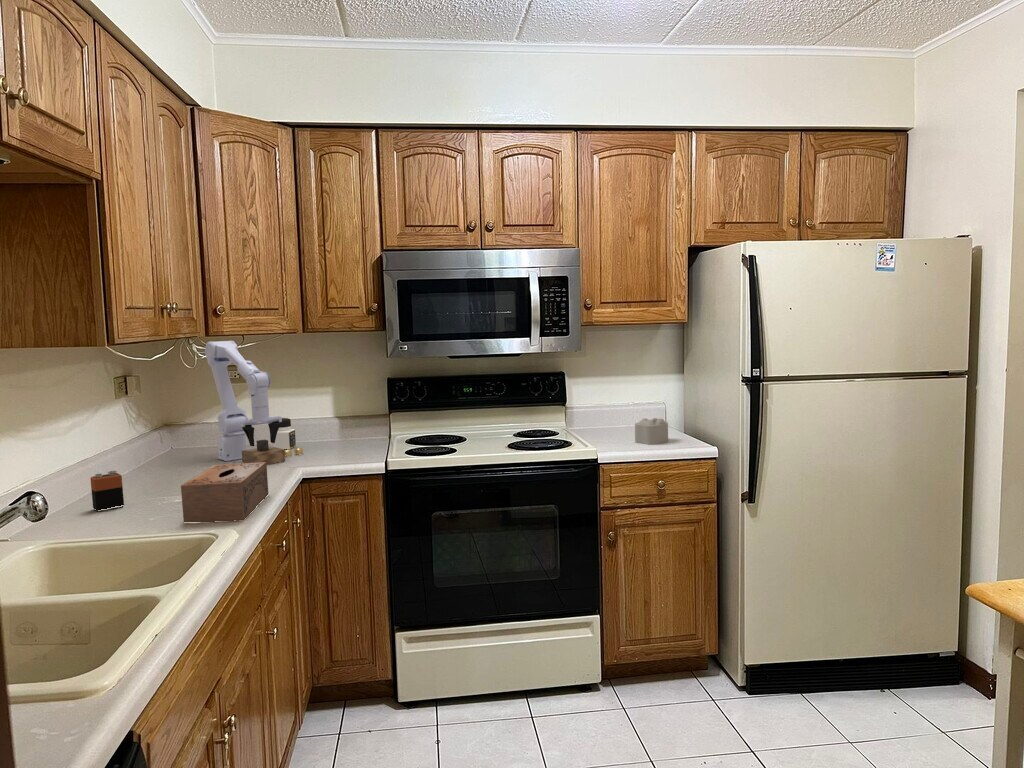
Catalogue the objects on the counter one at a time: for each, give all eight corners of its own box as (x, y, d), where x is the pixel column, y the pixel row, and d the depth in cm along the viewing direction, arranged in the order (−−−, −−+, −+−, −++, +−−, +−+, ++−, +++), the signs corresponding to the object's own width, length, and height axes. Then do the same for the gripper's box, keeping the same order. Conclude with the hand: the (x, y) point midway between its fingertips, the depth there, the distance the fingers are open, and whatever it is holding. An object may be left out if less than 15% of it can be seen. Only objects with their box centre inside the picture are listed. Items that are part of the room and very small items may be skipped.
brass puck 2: (296, 455, 261) (296, 449, 261) (292, 454, 264) (292, 448, 263) (304, 454, 263) (304, 448, 263) (300, 453, 266) (300, 447, 265)
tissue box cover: (243, 521, 175) (241, 482, 174) (183, 525, 173) (180, 485, 172) (268, 496, 200) (266, 462, 199) (216, 499, 199) (214, 464, 198)
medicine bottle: (290, 449, 275) (288, 419, 274) (272, 450, 275) (270, 419, 274) (296, 446, 282) (294, 416, 281) (278, 446, 282) (276, 417, 281)
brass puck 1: (285, 457, 258) (284, 451, 258) (281, 456, 260) (280, 450, 260) (293, 456, 260) (292, 450, 260) (289, 455, 263) (288, 449, 262)
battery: (124, 507, 193) (121, 471, 192) (96, 512, 188) (93, 475, 187) (120, 504, 196) (117, 469, 195) (92, 509, 191) (89, 473, 190)
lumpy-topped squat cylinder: (631, 442, 265) (630, 419, 265) (653, 438, 273) (653, 416, 273) (652, 445, 257) (652, 422, 256) (675, 441, 265) (674, 418, 264)
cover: (255, 466, 242) (253, 444, 242) (242, 462, 251) (240, 441, 250) (285, 461, 250) (283, 439, 249) (271, 458, 258) (270, 436, 257)
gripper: (244, 409, 241) (247, 448, 242) (284, 405, 250) (286, 442, 252) (236, 408, 246) (239, 446, 247) (275, 403, 255) (278, 440, 257)
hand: (262, 444), depth 250 cm, fingers open, 7 cm apart
